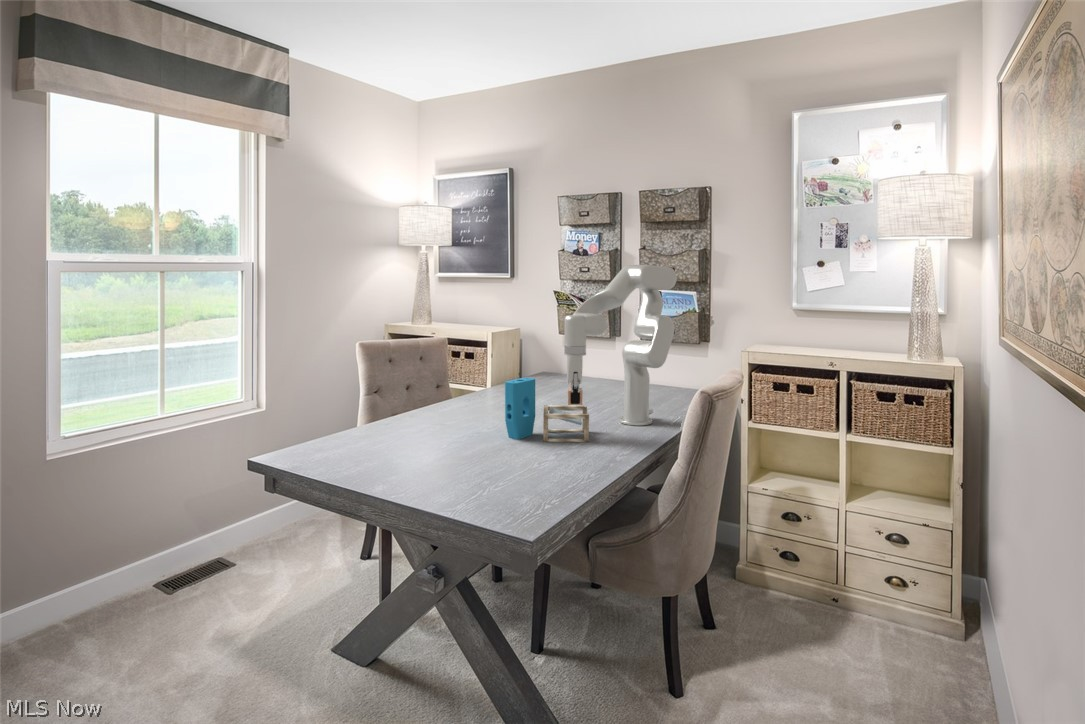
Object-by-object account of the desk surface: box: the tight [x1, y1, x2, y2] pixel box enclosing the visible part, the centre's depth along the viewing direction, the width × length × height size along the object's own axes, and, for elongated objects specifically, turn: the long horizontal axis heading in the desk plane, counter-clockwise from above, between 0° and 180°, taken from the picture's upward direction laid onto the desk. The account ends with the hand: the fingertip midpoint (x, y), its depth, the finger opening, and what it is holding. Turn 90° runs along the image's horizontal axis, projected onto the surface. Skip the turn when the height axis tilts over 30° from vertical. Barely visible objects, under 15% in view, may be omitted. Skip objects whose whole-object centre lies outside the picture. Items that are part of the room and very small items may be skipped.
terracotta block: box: [567, 387, 583, 406], centre depth 224 cm, size 5×5×5 cm
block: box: [504, 377, 536, 440], centre depth 224 cm, size 12×5×20 cm, turn 143°
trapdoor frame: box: [542, 405, 590, 443], centre depth 225 cm, size 16×14×10 cm
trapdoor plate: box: [548, 407, 582, 426], centre depth 224 cm, size 12×10×1 cm
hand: (574, 401), depth 224 cm, fingers closed on terracotta block, 5 cm apart
